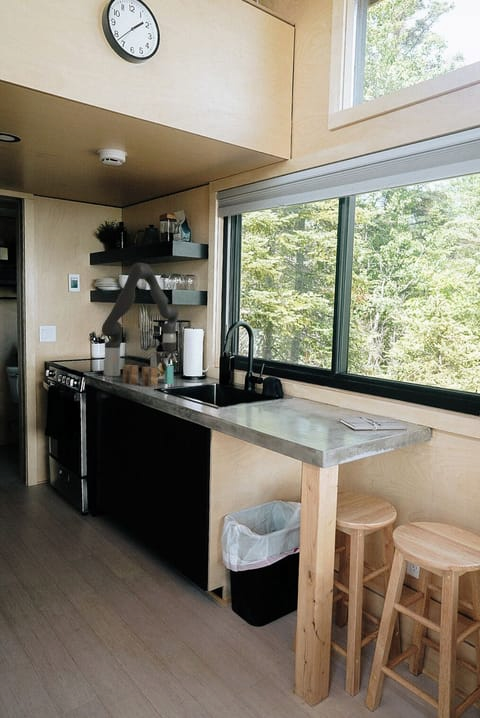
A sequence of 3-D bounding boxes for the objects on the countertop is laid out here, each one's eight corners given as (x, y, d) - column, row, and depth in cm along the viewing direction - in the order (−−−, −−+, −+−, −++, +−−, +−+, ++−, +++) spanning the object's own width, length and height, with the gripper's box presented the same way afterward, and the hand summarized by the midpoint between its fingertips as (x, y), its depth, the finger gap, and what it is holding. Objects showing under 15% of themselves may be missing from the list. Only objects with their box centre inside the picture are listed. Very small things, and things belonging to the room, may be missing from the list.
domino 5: (164, 383, 299) (164, 366, 298) (170, 382, 303) (170, 365, 302) (167, 383, 298) (167, 366, 297) (173, 383, 302) (173, 365, 301)
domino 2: (129, 383, 296) (129, 366, 295) (135, 382, 300) (135, 365, 299) (131, 384, 294) (131, 366, 294) (138, 383, 299) (138, 365, 298)
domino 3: (141, 385, 290) (142, 367, 289) (148, 384, 294) (148, 366, 293) (144, 385, 289) (144, 367, 288) (150, 384, 293) (151, 367, 292)
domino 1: (123, 382, 298) (123, 365, 298) (129, 382, 303) (129, 364, 302) (125, 383, 297) (125, 365, 296) (131, 382, 301) (132, 365, 301)
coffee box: (157, 379, 316) (157, 352, 314) (150, 378, 320) (150, 352, 318) (168, 378, 323) (168, 352, 322) (160, 377, 327) (161, 351, 325)
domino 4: (148, 386, 287) (148, 368, 286) (154, 385, 291) (155, 367, 290) (151, 386, 286) (151, 368, 285) (157, 385, 290) (157, 367, 289)
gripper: (172, 340, 307) (172, 368, 308) (155, 341, 295) (155, 370, 296) (182, 341, 302) (182, 369, 304) (165, 342, 291) (165, 371, 292)
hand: (169, 369), depth 300 cm, fingers open, 8 cm apart
